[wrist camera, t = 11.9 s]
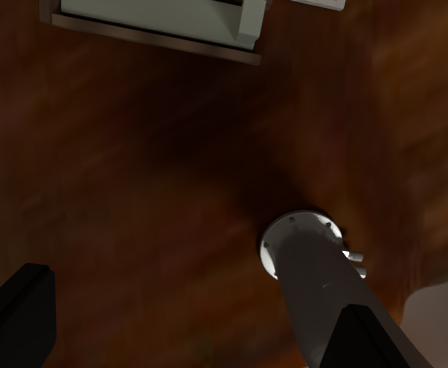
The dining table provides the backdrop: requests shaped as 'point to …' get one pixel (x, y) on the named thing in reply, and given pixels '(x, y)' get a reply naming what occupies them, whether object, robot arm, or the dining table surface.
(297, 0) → the grey piece
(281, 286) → the robot arm
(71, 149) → the dining table surface
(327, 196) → the dining table surface
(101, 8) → the strip
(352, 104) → the dining table surface
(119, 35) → the lane frame
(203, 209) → the dining table surface
